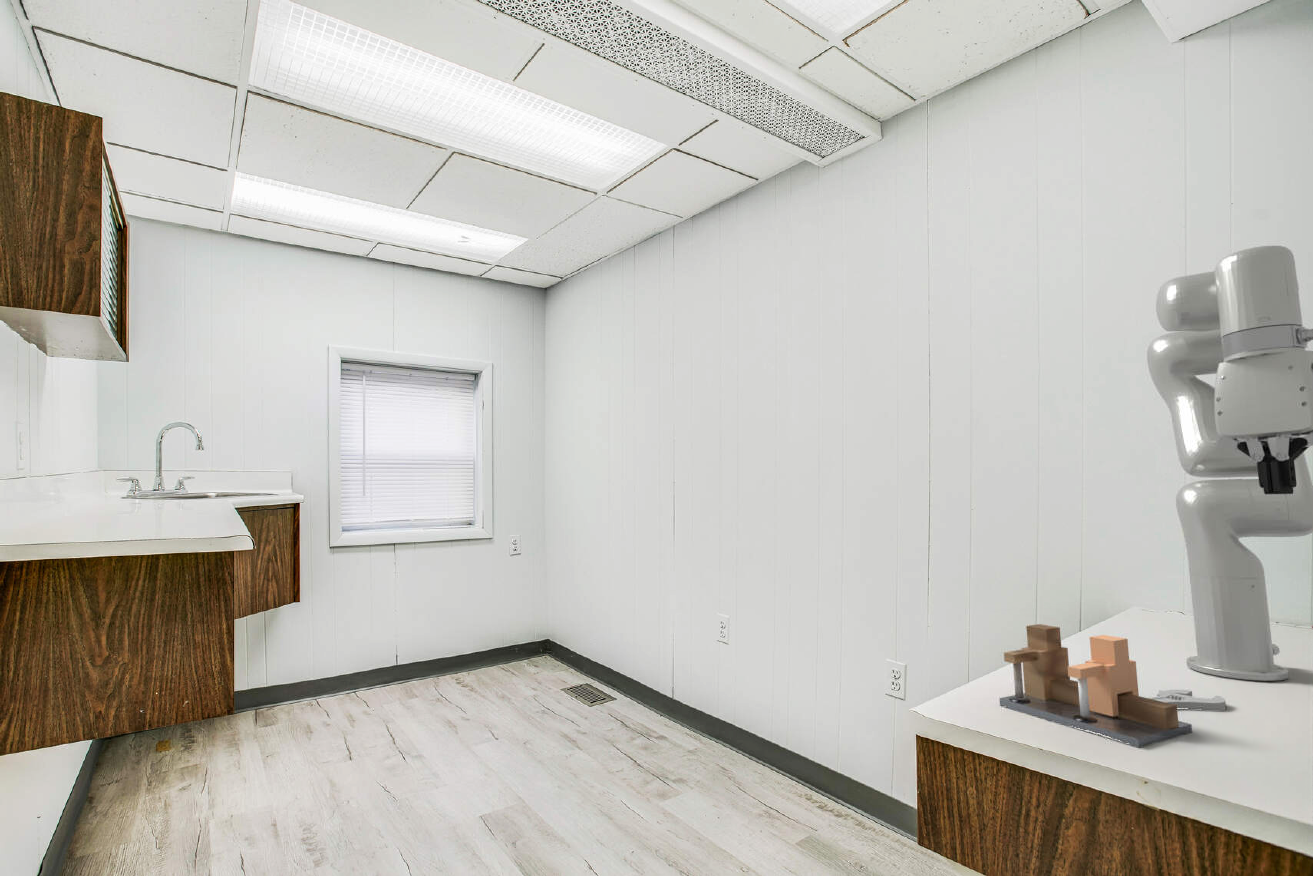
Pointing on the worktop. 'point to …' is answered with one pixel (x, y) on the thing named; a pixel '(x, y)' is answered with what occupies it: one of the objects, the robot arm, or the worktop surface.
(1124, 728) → the flange plate
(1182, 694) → the adjustable wrench
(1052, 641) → the trammel bar
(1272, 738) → the worktop surface
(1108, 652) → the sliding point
